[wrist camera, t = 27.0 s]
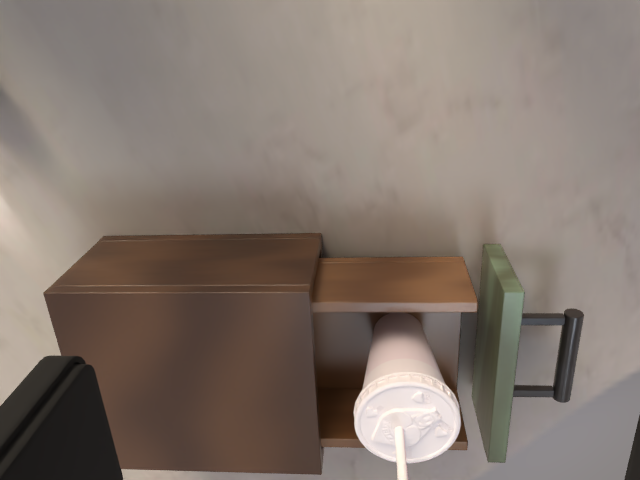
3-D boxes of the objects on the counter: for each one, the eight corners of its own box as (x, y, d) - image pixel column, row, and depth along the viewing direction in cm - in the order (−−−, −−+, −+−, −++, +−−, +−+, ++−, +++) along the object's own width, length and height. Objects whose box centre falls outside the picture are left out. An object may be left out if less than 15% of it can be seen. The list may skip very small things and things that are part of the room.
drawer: (570, 242, 39) (609, 291, 33) (548, 397, 45) (577, 464, 38) (282, 246, 41) (266, 292, 35) (295, 393, 47) (283, 457, 40)
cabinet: (321, 232, 41) (309, 292, 33) (329, 392, 47) (321, 475, 39) (103, 235, 43) (42, 292, 35) (138, 390, 49) (93, 468, 41)
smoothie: (339, 318, 42) (329, 464, 29) (417, 281, 40) (441, 419, 27) (380, 379, 44) (387, 540, 31) (456, 347, 42) (496, 504, 29)
